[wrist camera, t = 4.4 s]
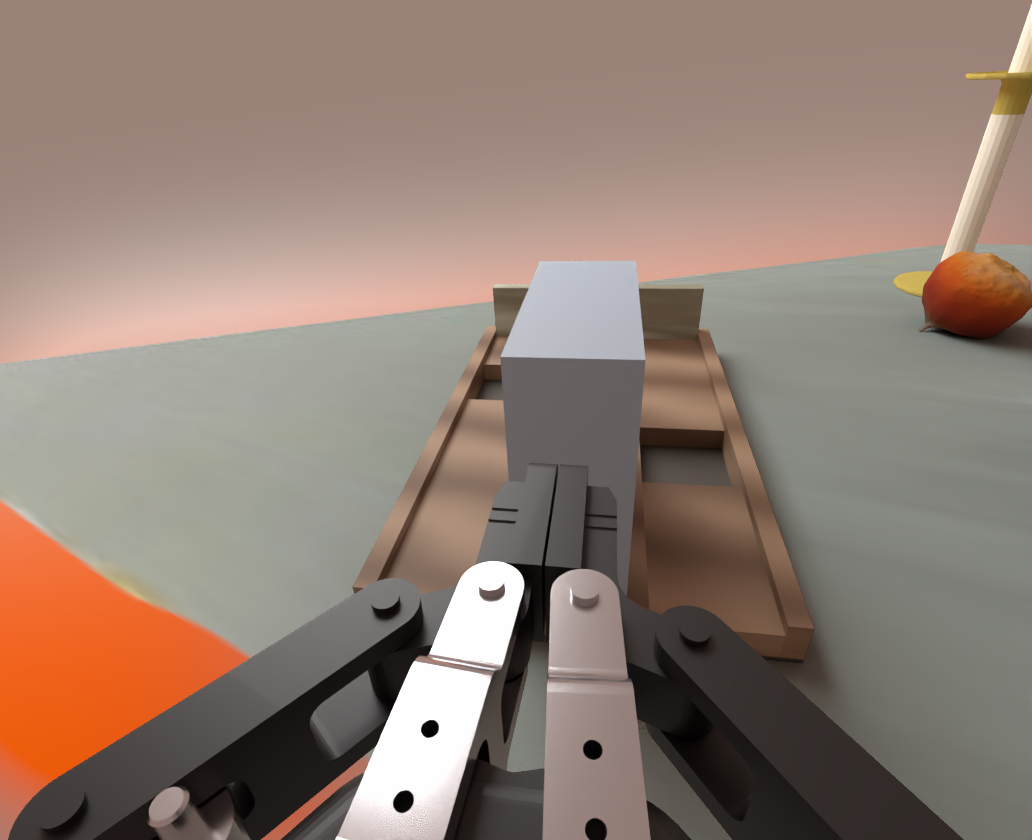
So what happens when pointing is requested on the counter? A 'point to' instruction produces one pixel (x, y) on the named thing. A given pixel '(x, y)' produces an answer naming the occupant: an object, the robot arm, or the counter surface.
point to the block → (579, 380)
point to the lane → (658, 492)
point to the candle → (987, 156)
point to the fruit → (975, 295)
